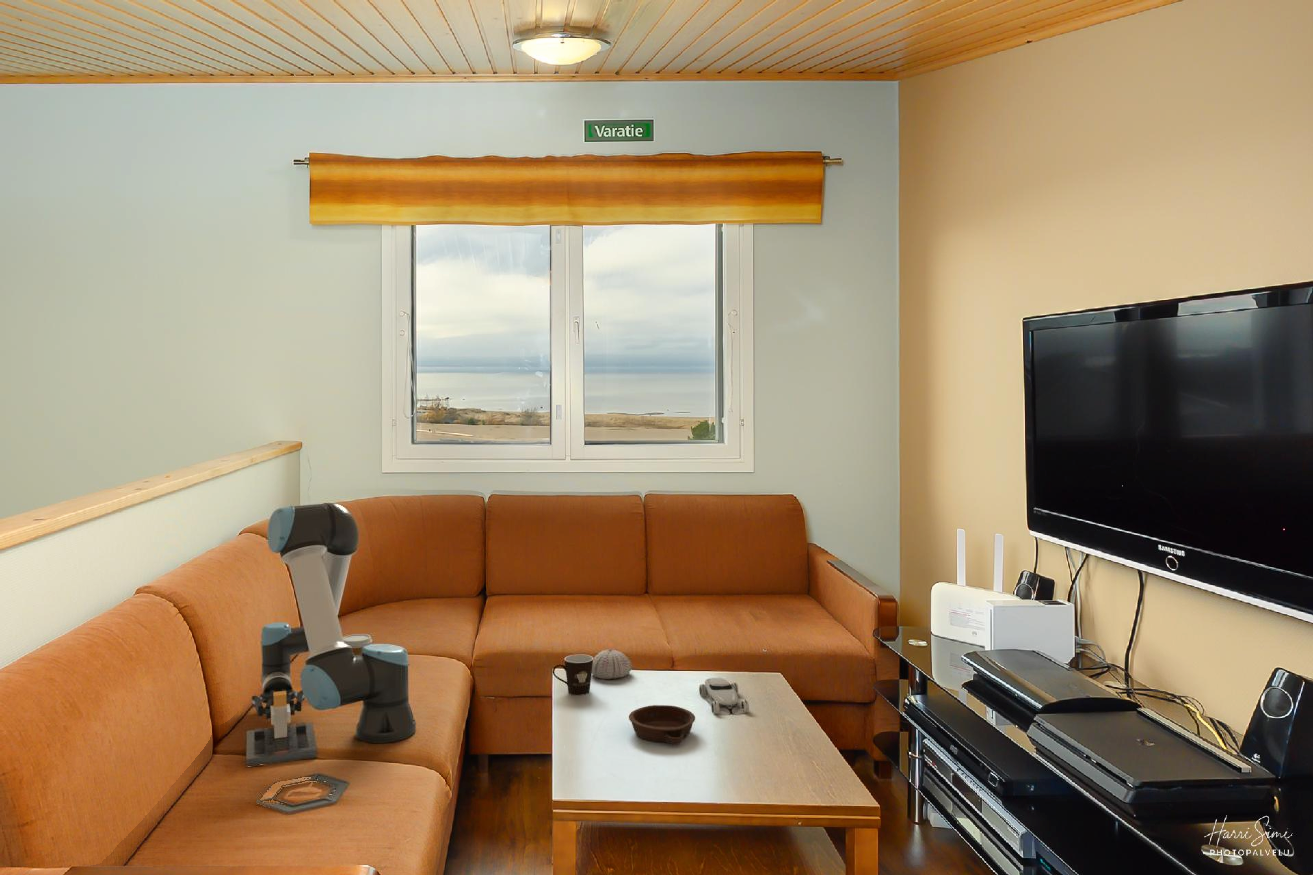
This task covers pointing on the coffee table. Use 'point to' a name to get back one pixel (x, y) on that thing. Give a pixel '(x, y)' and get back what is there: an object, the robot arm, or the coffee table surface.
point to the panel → (280, 745)
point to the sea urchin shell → (610, 665)
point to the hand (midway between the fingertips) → (281, 718)
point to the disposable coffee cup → (357, 642)
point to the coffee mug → (577, 673)
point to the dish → (662, 723)
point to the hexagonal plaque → (289, 808)
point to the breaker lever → (280, 714)
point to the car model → (723, 697)
